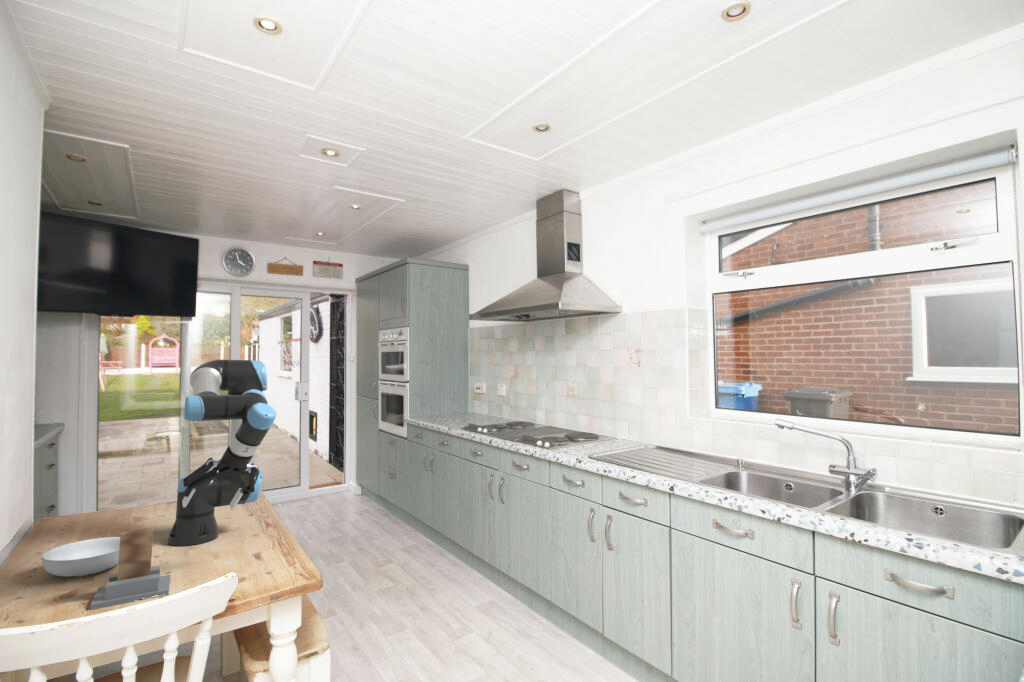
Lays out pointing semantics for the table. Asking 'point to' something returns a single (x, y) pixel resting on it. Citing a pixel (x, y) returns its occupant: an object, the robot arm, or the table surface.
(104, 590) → the slotted rack
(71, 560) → the serving bowl
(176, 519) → the robot arm
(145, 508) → the table surface
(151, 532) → the walnut card
